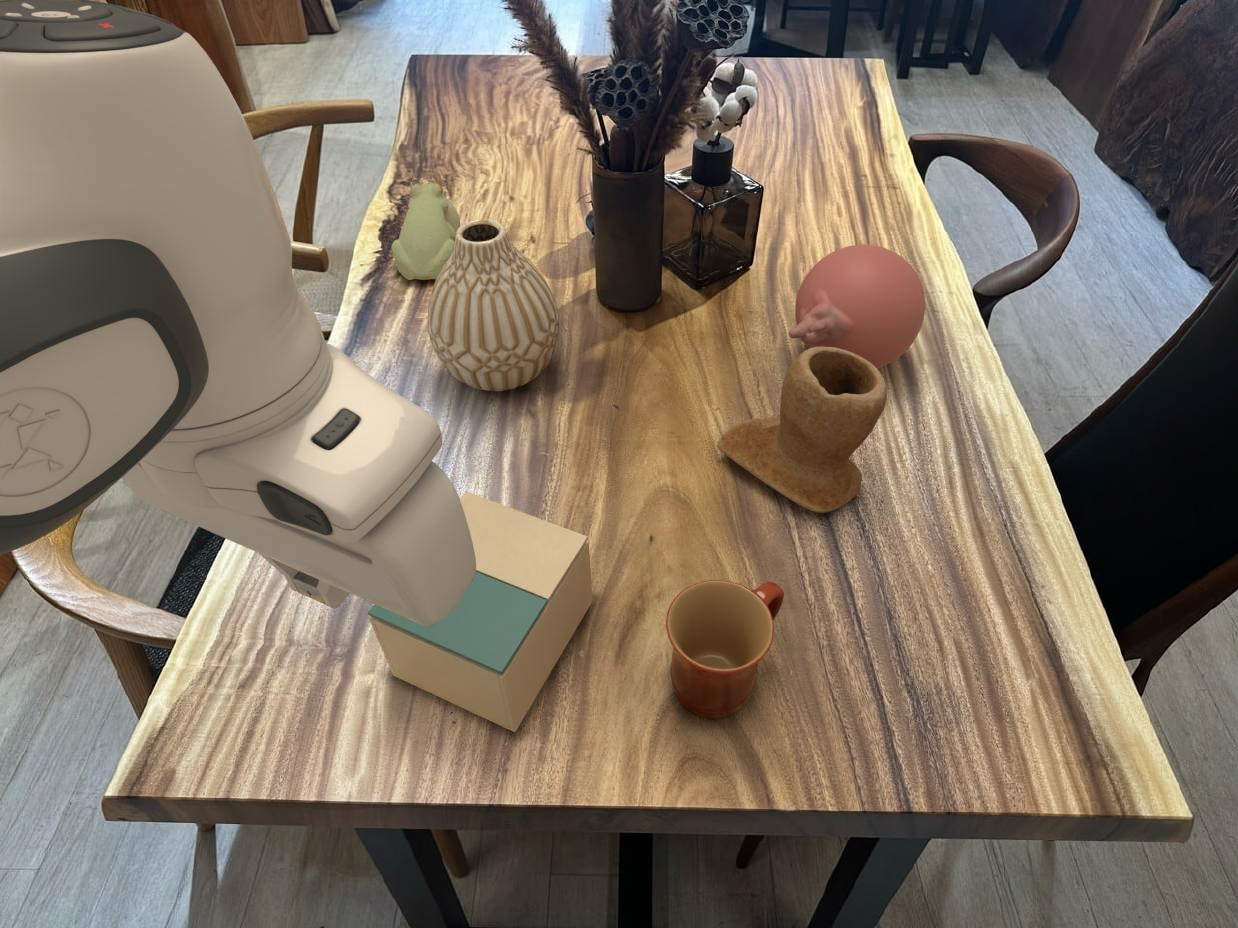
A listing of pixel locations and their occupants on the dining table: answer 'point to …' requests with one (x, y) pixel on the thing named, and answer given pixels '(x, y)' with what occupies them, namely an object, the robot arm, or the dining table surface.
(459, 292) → the vase
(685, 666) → the mug
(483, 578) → the flap
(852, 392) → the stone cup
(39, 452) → the robot arm
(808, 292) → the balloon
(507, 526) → the carton
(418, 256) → the figurine
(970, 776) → the dining table surface
